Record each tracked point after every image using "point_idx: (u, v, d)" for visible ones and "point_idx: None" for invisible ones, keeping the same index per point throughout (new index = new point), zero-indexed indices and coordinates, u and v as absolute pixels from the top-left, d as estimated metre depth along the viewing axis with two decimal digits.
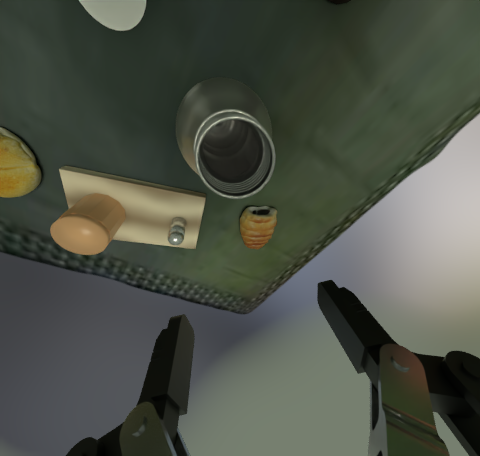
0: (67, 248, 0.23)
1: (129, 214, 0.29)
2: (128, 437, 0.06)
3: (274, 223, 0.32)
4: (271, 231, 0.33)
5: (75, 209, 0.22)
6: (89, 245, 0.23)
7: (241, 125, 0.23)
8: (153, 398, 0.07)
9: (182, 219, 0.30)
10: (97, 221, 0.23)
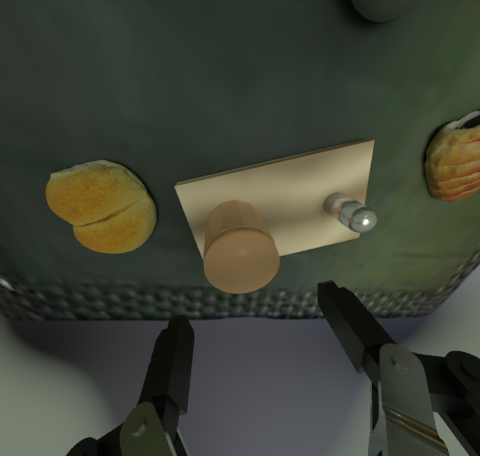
0: (227, 290, 0.15)
1: (266, 217, 0.19)
2: (128, 437, 0.06)
3: None
4: None
5: (220, 226, 0.14)
6: (255, 274, 0.14)
7: None
8: (153, 398, 0.07)
9: None
10: (256, 231, 0.14)
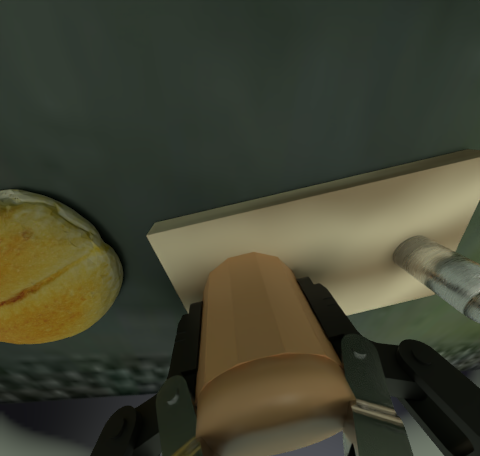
0: None
1: (300, 275, 0.12)
2: (163, 403, 0.07)
3: None
4: None
5: (232, 338, 0.07)
6: (303, 434, 0.07)
7: None
8: (182, 373, 0.08)
9: (430, 240, 0.11)
10: (312, 357, 0.06)
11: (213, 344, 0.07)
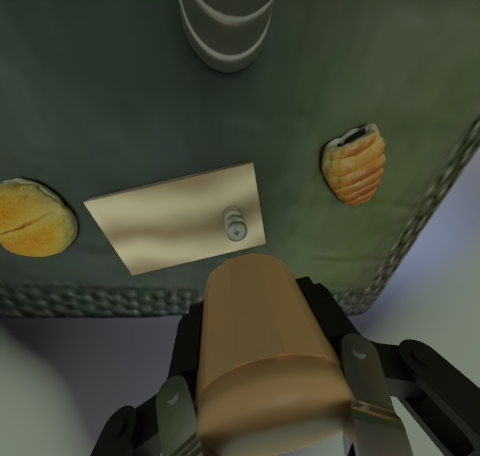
0: None
1: (173, 227, 0.22)
2: (163, 403, 0.07)
3: (383, 142, 0.19)
4: (383, 158, 0.20)
5: (232, 339, 0.07)
6: (303, 436, 0.07)
7: None
8: (182, 373, 0.08)
9: (235, 207, 0.22)
10: (312, 358, 0.06)
11: (213, 345, 0.07)
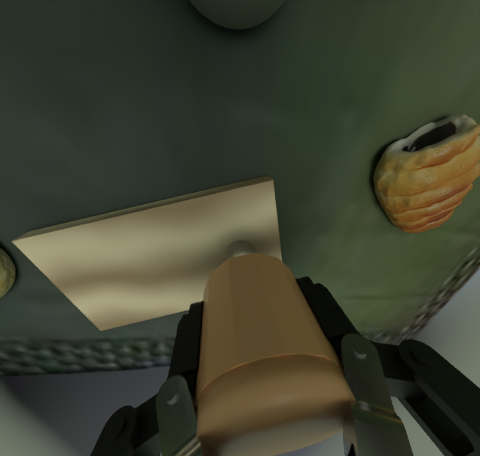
0: None
1: (154, 271, 0.15)
2: (163, 403, 0.07)
3: None
4: (479, 168, 0.13)
5: (232, 339, 0.07)
6: (303, 435, 0.07)
7: None
8: (182, 373, 0.08)
9: (244, 243, 0.15)
10: (312, 358, 0.06)
11: (213, 345, 0.07)
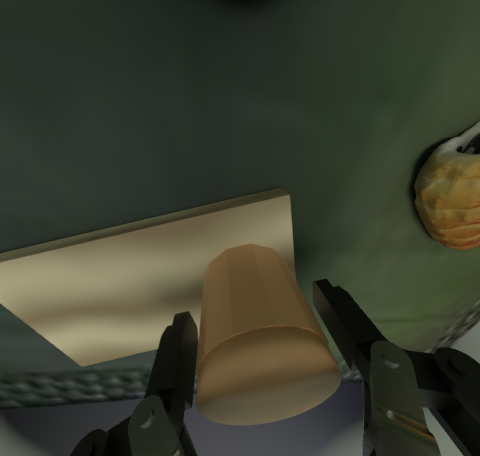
0: (240, 422, 0.08)
1: (143, 302, 0.13)
2: (136, 428, 0.06)
3: None
4: None
5: (228, 315, 0.07)
6: (292, 401, 0.08)
7: None
8: (160, 392, 0.07)
9: None
10: (299, 330, 0.07)
11: (212, 322, 0.08)
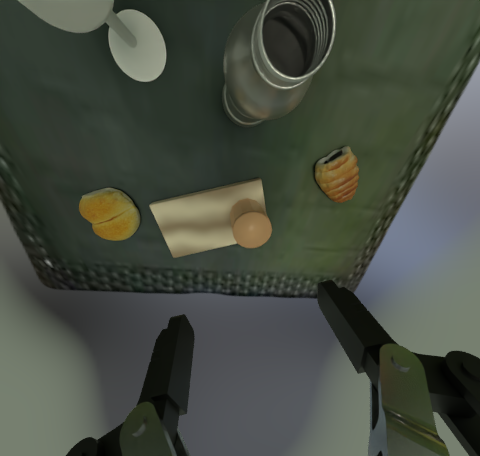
0: (244, 245, 0.28)
1: (205, 223, 0.32)
2: (128, 437, 0.06)
3: (354, 159, 0.29)
4: (356, 169, 0.29)
5: (241, 210, 0.27)
6: (259, 236, 0.27)
7: None
8: (153, 398, 0.07)
9: None
10: (260, 213, 0.27)
11: (236, 214, 0.27)
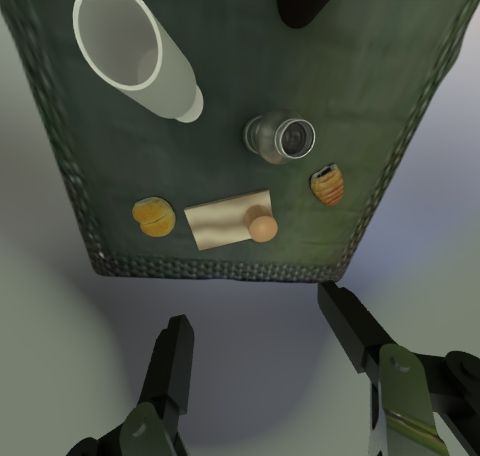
0: (256, 240, 0.38)
1: (225, 223, 0.42)
2: (128, 437, 0.06)
3: (340, 173, 0.38)
4: (341, 181, 0.39)
5: (254, 214, 0.37)
6: (268, 233, 0.37)
7: None
8: (153, 398, 0.07)
9: None
10: (268, 216, 0.36)
11: (251, 217, 0.37)
